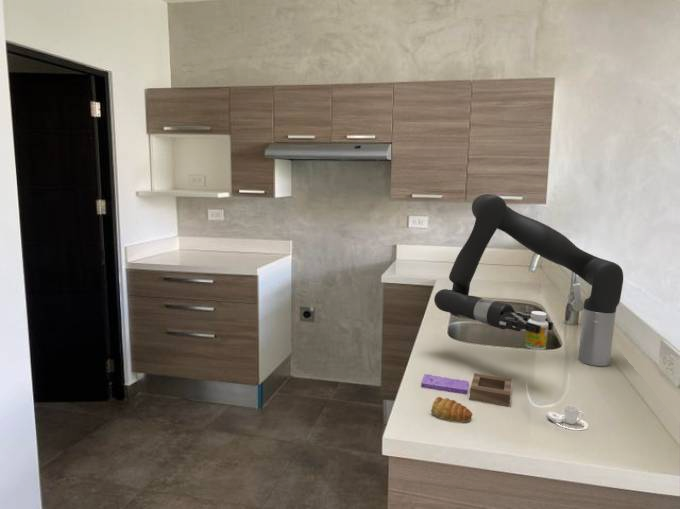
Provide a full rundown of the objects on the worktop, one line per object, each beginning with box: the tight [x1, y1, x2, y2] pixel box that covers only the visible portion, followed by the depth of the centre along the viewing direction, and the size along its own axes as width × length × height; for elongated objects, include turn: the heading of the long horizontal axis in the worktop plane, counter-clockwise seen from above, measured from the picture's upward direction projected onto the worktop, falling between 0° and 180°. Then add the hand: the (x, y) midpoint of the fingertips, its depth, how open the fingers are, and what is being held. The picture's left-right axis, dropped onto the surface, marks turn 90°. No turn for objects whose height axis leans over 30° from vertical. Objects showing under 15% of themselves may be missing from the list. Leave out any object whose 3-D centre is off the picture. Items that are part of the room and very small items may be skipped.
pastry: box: [430, 396, 473, 423], centre depth 124 cm, size 9×7×4 cm
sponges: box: [420, 373, 469, 395], centre depth 142 cm, size 7×13×2 cm, turn 72°
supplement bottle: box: [524, 310, 549, 351], centre depth 141 cm, size 5×5×10 cm
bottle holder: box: [469, 372, 513, 407], centre depth 138 cm, size 12×10×3 cm
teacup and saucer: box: [546, 404, 589, 431], centre depth 123 cm, size 9×8×4 cm
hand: (546, 328), depth 139 cm, fingers closed on supplement bottle, 5 cm apart
